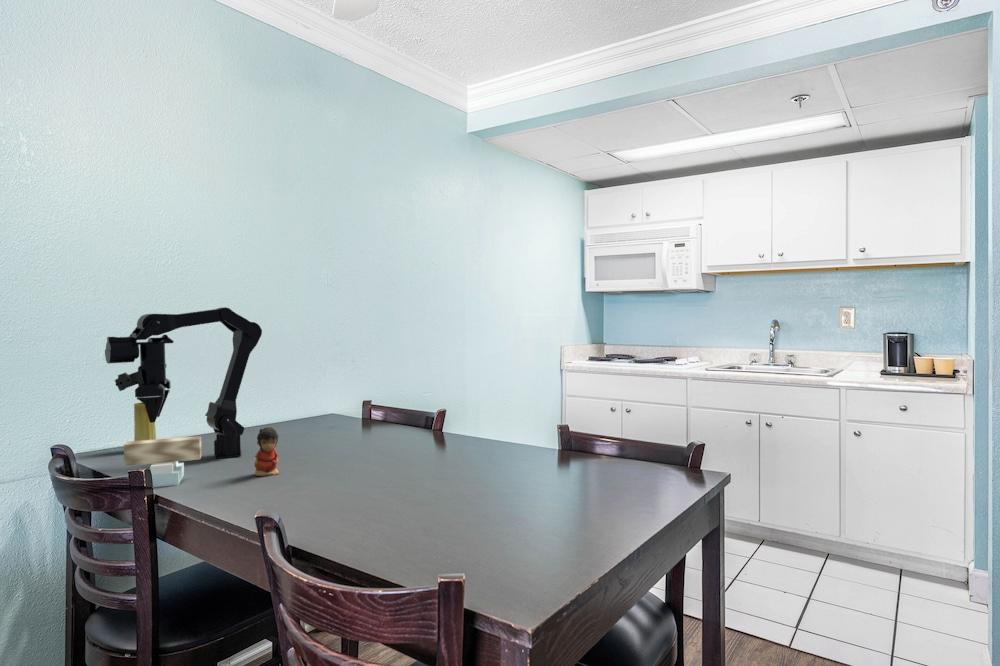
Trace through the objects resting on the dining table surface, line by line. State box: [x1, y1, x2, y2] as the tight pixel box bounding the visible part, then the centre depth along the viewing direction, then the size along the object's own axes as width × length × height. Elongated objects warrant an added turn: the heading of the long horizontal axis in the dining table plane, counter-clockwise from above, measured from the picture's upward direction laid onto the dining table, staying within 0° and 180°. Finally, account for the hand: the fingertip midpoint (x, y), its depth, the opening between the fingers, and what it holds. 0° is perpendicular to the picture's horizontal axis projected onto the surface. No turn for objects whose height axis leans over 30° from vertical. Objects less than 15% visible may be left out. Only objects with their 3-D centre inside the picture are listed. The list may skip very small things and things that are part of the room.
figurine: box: [254, 426, 280, 477], centre depth 150 cm, size 6×6×12 cm
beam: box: [123, 435, 203, 467], centre depth 144 cm, size 16×4×5 cm, turn 112°
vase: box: [133, 401, 157, 441], centre depth 178 cm, size 6×6×14 cm
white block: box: [149, 461, 185, 488], centre depth 144 cm, size 7×10×5 cm
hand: (154, 419), depth 156 cm, fingers open, 9 cm apart
